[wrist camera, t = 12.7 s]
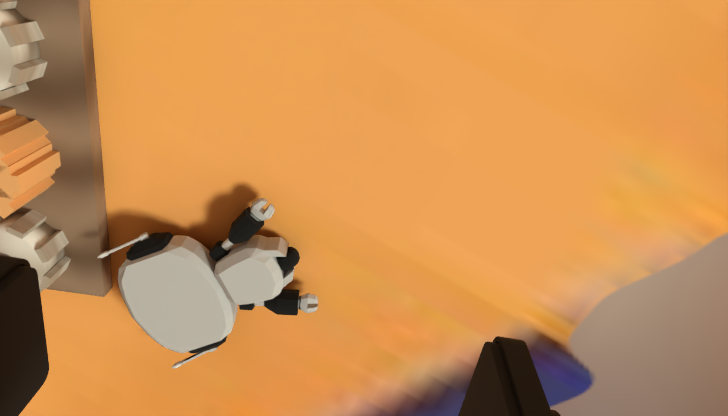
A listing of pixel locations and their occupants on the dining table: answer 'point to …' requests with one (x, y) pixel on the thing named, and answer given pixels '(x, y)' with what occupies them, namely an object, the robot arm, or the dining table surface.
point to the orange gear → (23, 161)
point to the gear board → (57, 143)
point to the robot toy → (208, 282)
